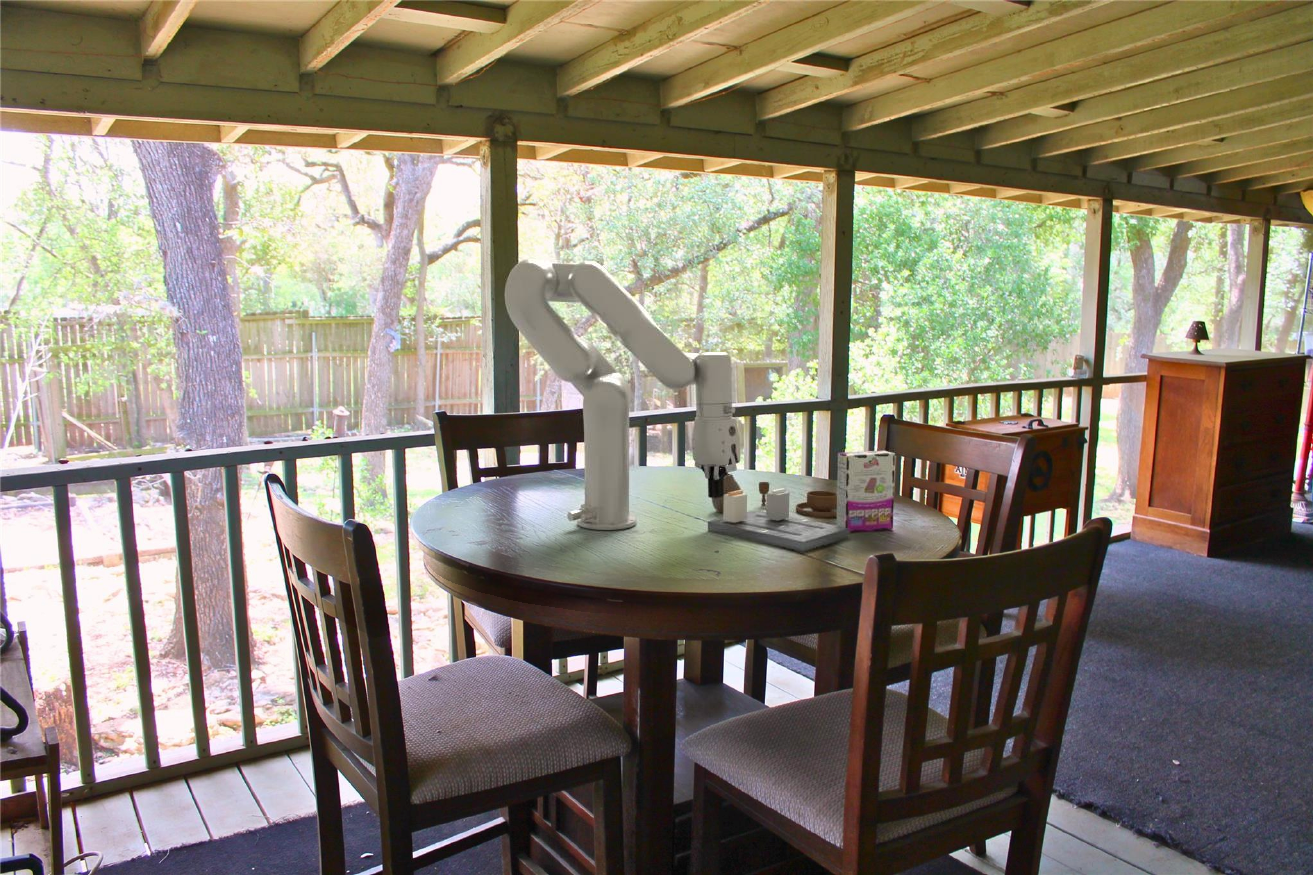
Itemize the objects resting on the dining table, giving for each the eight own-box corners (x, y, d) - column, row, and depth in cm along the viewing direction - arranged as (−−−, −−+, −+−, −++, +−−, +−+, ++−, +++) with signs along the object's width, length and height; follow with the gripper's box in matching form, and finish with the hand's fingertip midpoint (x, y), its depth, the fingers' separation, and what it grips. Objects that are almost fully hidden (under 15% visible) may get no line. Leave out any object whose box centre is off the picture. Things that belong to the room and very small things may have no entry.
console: (803, 551, 173) (803, 541, 173) (707, 530, 190) (707, 520, 189) (848, 537, 185) (849, 527, 184) (755, 518, 201) (755, 509, 201)
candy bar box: (881, 525, 196) (884, 449, 194) (893, 530, 191) (896, 453, 189) (834, 527, 193) (837, 451, 191) (845, 533, 188) (848, 455, 186)
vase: (739, 516, 204) (740, 477, 203) (709, 514, 205) (710, 476, 204) (743, 509, 211) (743, 472, 209) (713, 508, 212) (714, 471, 211)
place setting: (808, 523, 199) (809, 497, 198) (753, 506, 216) (753, 482, 215) (867, 515, 208) (868, 490, 207) (810, 499, 225) (811, 476, 224)
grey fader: (777, 520, 189) (778, 491, 188) (765, 518, 191) (766, 490, 190) (789, 517, 192) (789, 489, 191) (777, 515, 194) (778, 487, 193)
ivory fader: (734, 522, 187) (734, 493, 186) (723, 520, 189) (723, 491, 188) (746, 519, 190) (747, 491, 189) (735, 517, 192) (736, 489, 191)
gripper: (753, 411, 188) (754, 498, 191) (699, 407, 199) (701, 490, 201) (730, 414, 183) (732, 504, 186) (675, 411, 193) (678, 495, 196)
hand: (716, 496), depth 193 cm, fingers closed
